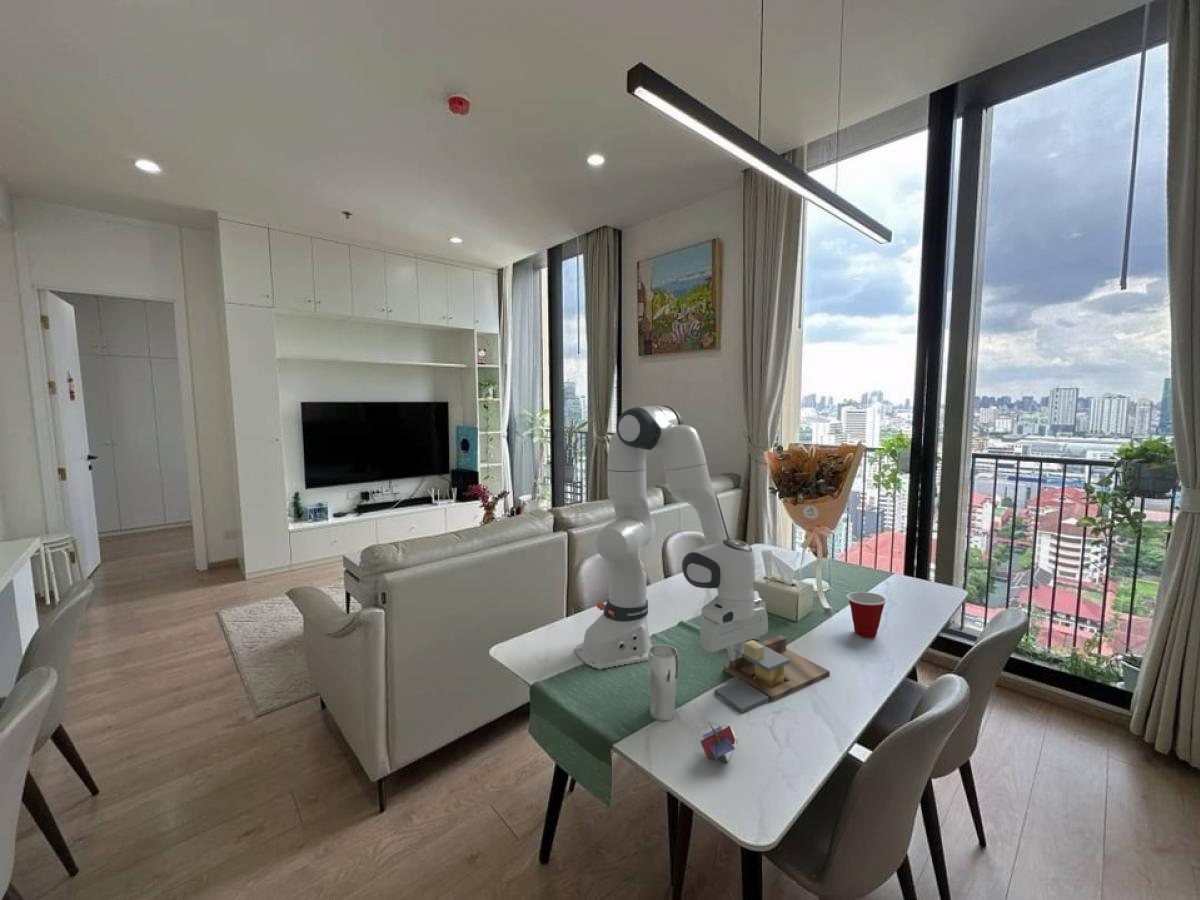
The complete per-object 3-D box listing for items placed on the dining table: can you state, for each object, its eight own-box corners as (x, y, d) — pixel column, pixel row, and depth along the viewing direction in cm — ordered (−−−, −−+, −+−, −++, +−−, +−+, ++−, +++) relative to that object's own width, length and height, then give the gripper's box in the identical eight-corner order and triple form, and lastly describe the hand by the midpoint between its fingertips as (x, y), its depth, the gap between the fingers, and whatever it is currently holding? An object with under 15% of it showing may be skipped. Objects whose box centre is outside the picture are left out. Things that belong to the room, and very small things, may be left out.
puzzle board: (771, 701, 118) (772, 681, 117) (723, 670, 131) (724, 652, 131) (829, 675, 129) (830, 657, 128) (779, 649, 142) (780, 632, 142)
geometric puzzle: (700, 762, 95) (723, 728, 95) (687, 738, 102) (709, 707, 102) (727, 779, 97) (750, 745, 97) (713, 754, 103) (734, 723, 103)
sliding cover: (768, 672, 121) (768, 656, 120) (732, 650, 131) (732, 636, 131) (789, 663, 125) (790, 648, 124) (753, 643, 135) (753, 629, 135)
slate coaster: (741, 713, 113) (741, 709, 113) (714, 693, 121) (714, 689, 121) (768, 701, 118) (768, 697, 118) (740, 682, 125) (740, 679, 125)
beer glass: (641, 712, 114) (641, 651, 112) (660, 700, 119) (660, 640, 117) (665, 726, 109) (665, 662, 107) (684, 712, 114) (684, 651, 112)
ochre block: (770, 690, 122) (770, 671, 122) (754, 680, 127) (755, 662, 126) (783, 684, 125) (784, 665, 124) (768, 675, 129) (768, 657, 129)
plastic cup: (852, 622, 159) (853, 586, 158) (889, 633, 151) (891, 596, 150) (839, 634, 151) (841, 596, 150) (878, 646, 144) (880, 606, 142)
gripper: (755, 592, 129) (754, 642, 131) (696, 609, 119) (695, 663, 121) (774, 601, 124) (773, 653, 125) (714, 619, 114) (713, 676, 115)
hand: (734, 658), depth 123 cm, fingers closed
